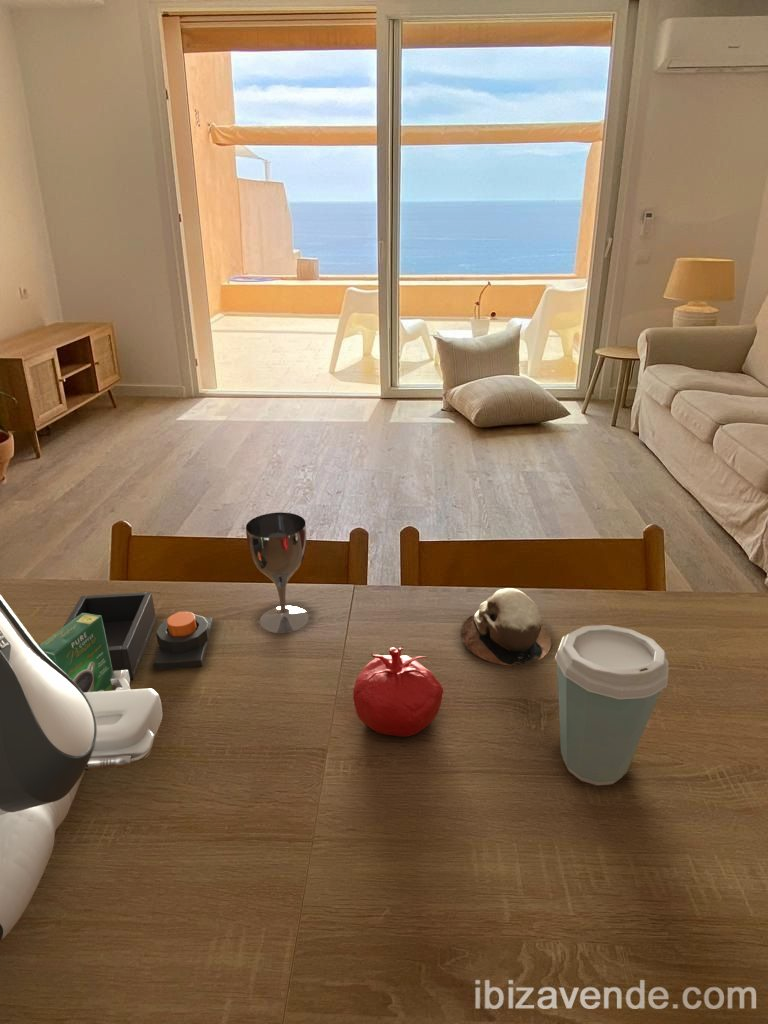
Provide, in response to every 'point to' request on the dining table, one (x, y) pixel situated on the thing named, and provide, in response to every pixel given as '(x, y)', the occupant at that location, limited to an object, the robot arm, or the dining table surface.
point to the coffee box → (82, 653)
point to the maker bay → (122, 625)
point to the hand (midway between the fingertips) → (78, 677)
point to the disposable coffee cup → (606, 698)
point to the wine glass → (279, 563)
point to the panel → (183, 646)
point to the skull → (506, 629)
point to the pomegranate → (397, 694)
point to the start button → (181, 624)
